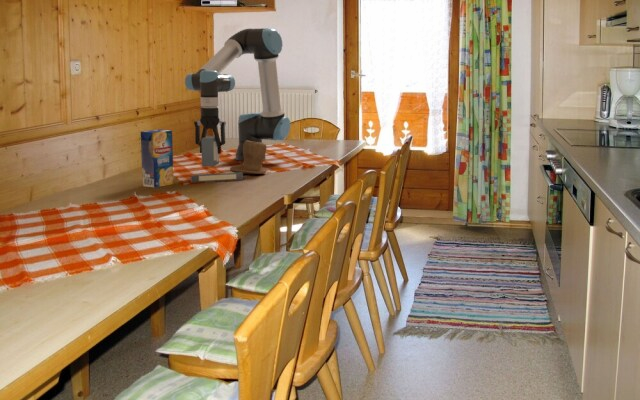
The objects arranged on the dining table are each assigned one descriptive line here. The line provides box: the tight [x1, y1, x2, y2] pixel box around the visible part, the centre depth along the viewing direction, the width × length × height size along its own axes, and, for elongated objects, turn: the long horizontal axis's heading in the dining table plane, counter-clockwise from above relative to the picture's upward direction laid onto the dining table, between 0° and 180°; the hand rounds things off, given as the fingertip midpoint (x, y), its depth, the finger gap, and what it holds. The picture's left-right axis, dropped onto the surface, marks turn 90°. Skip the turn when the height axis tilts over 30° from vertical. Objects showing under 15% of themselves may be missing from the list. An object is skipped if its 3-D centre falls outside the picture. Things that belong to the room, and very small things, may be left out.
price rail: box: [190, 172, 244, 184], centre depth 326 cm, size 2×22×3 cm, turn 111°
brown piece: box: [229, 140, 267, 175], centre depth 345 cm, size 15×12×15 cm
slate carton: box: [200, 135, 220, 168], centre depth 335 cm, size 9×5×12 cm, turn 172°
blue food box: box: [140, 129, 175, 188], centre depth 314 cm, size 7×11×22 cm, turn 148°
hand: (210, 160), depth 336 cm, fingers closed on slate carton, 5 cm apart
